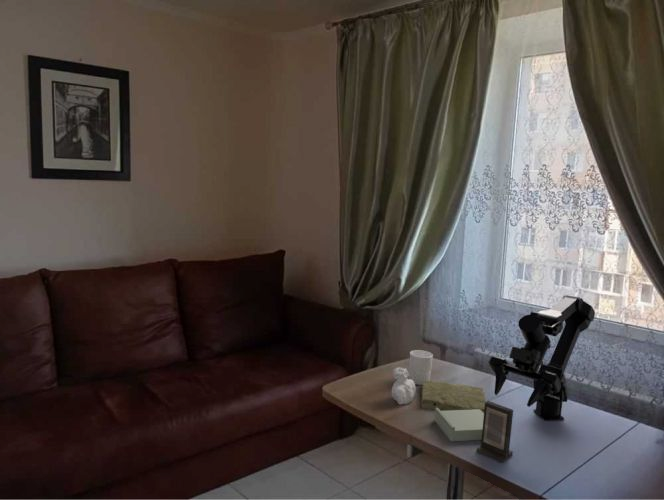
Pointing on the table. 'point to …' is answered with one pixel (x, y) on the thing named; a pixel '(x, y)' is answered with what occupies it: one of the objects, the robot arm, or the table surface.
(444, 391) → the decorative tile
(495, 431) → the dark photo frame
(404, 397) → the bust
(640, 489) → the table surface
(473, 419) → the picture ledge
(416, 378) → the white cup
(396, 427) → the table surface
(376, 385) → the table surface
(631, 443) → the table surface
